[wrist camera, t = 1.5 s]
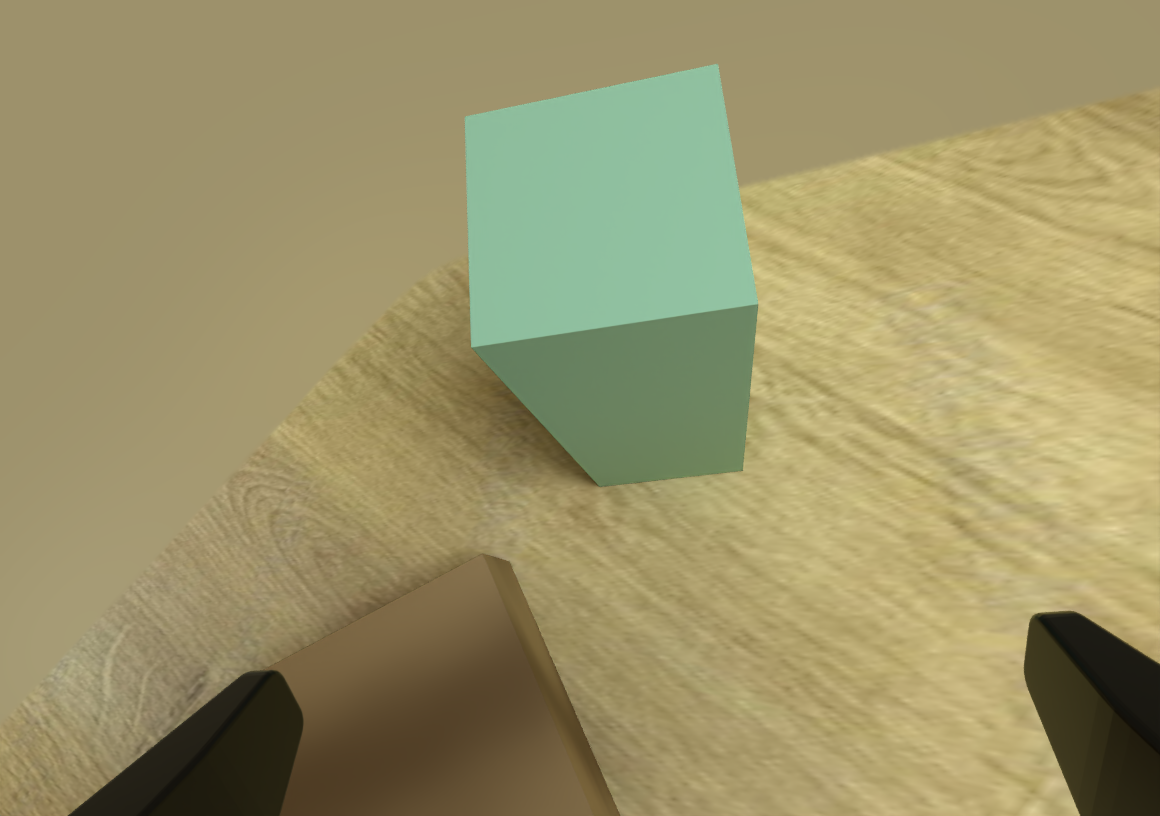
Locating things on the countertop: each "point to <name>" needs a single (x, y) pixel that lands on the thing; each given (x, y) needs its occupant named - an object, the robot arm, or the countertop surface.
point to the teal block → (617, 273)
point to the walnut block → (440, 710)
